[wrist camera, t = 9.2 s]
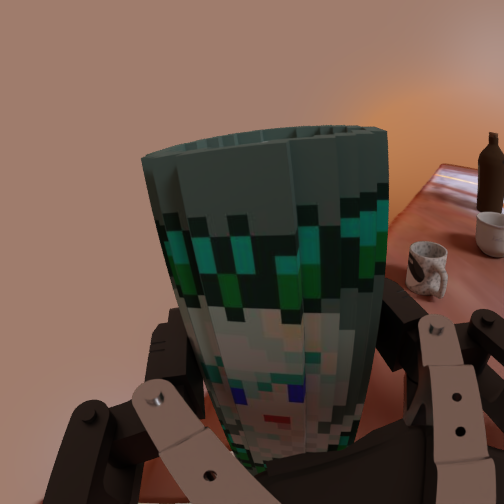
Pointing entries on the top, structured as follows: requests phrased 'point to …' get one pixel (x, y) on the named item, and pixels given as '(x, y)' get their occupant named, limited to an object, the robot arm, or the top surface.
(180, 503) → the white rectangular plate
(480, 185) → the olive oil
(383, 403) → the top surface
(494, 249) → the teacup
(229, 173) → the can
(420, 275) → the mug
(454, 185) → the top surface
